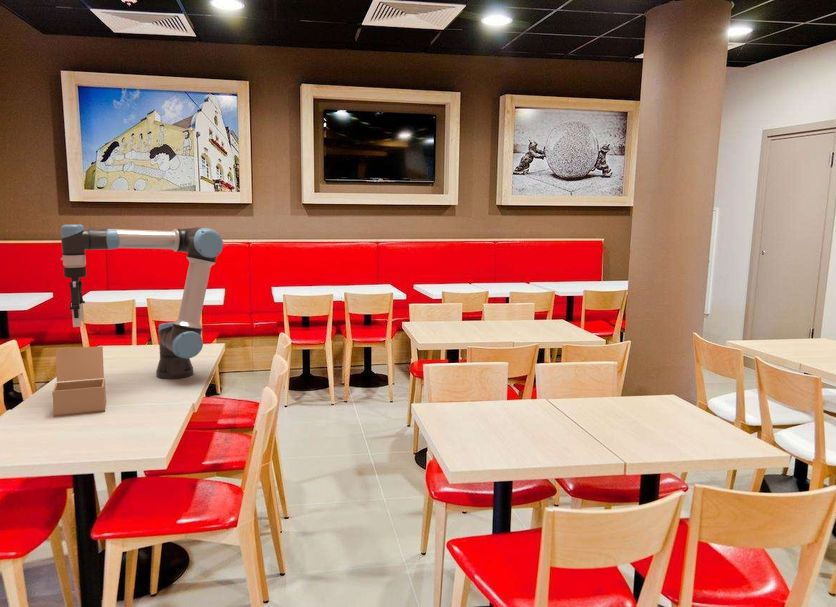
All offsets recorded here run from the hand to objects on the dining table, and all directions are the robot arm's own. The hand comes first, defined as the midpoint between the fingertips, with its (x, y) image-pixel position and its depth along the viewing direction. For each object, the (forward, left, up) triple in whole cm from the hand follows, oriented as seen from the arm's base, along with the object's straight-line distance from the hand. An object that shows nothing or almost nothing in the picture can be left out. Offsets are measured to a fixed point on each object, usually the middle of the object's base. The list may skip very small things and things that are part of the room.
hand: (78, 323), depth 250 cm
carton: (0, +17, -28) cm, 33 cm away
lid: (0, +9, -13) cm, 16 cm away
